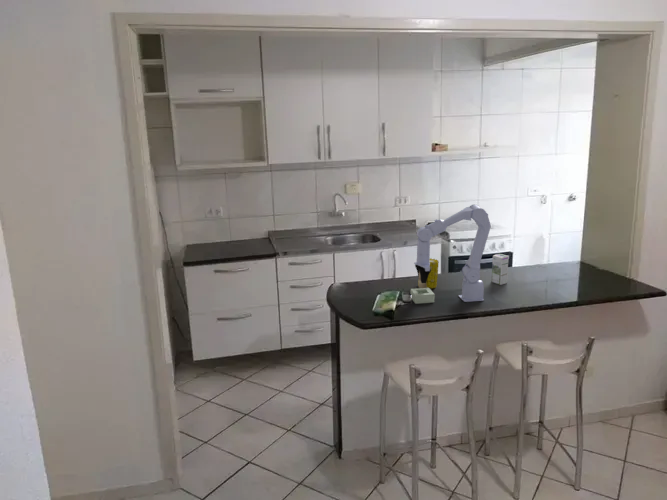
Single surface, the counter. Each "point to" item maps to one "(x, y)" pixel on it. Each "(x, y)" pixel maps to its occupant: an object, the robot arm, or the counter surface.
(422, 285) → the beech peg
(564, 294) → the counter surface
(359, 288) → the counter surface
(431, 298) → the socket block
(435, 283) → the food
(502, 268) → the syrup box
